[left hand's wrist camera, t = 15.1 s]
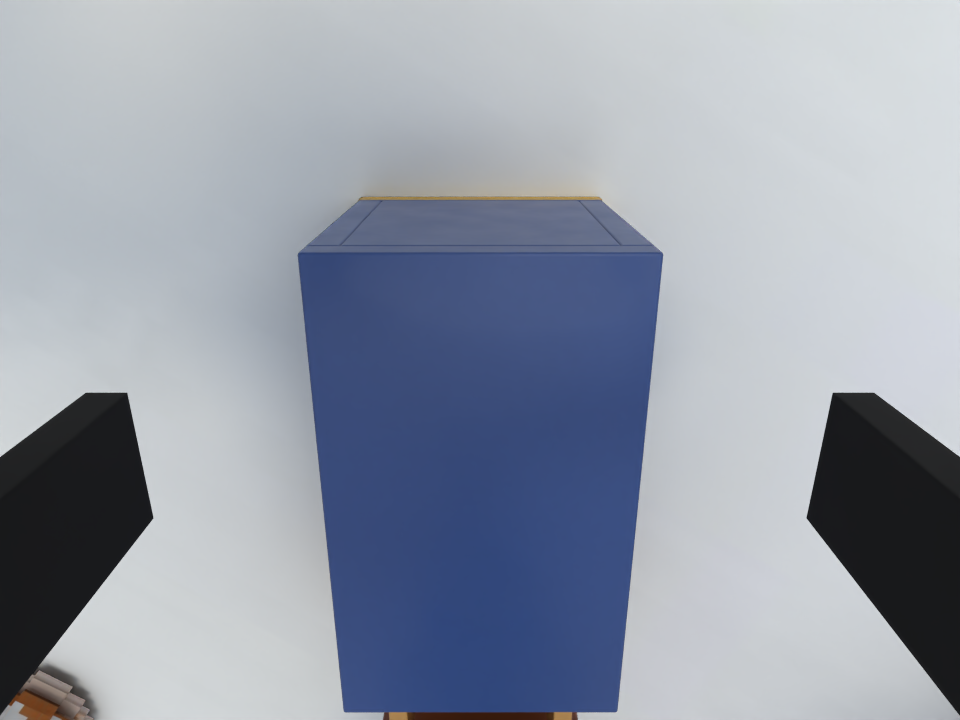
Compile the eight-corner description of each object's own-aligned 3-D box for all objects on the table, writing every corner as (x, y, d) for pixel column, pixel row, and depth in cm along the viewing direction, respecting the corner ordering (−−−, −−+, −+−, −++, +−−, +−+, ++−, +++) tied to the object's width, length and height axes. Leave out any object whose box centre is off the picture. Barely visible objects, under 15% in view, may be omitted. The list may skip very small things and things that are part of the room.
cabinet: (577, 533, 38) (618, 713, 27) (383, 533, 38) (343, 713, 27) (598, 196, 31) (664, 252, 20) (361, 196, 31) (296, 252, 20)
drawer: (559, 716, 42) (581, 890, 33) (401, 716, 42) (379, 890, 33) (578, 377, 33) (616, 483, 24) (381, 377, 33) (344, 483, 24)
